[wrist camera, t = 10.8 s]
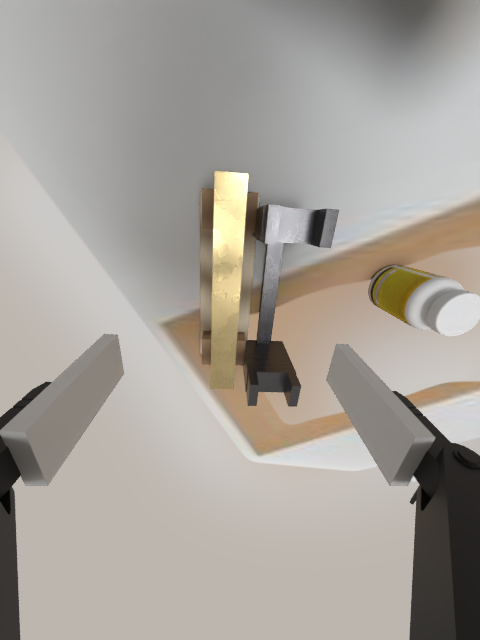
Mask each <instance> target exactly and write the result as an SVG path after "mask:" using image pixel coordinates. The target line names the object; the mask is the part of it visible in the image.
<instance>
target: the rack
mask: <svg viewBox="0 0 480 640" xmlns="http://www.w3.org/2000/svg"><path fill="white" fill-rule="evenodd" d="M338 213H339V210H336V209H321V210H311V209H298V208H289V207H281V205H272V204H268V205H266V206H262V207H259V208H257V216H256V228H255V233H253V237H255V238H256V239H258V240H259V241H262V242H263V243H265V244H267V249H266V258H265V267H264V276H263V286H262V295H261V304H260V313H259V322H258V332H257V340H247V341H246V342H245V354H244V365H243V370H244V380H245V390H246V392H247V402H248V406H256V405H257V397H258V392H284V394H285V397H286V400H287V403H288V406H297V403H298V398H299V393H300V388H301V385H300V383H299V380H298V378H297V376H296V372H295V369H294V367H293V365H292V363H291V360H290V358H289V356H288V354H287V351H286V349H285V347H284V344H283V342H282V341H271V335H272V327H273V319H274V313H275V305H276V298H277V291H278V283H279V276H280V269H281V261H282V254H283V247H284V243H296V244H311V245H314V246H317V247H324V248H331V245H332V240H333V236H334V231H335V226H336V222H337V217H338Z"/></svg>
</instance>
